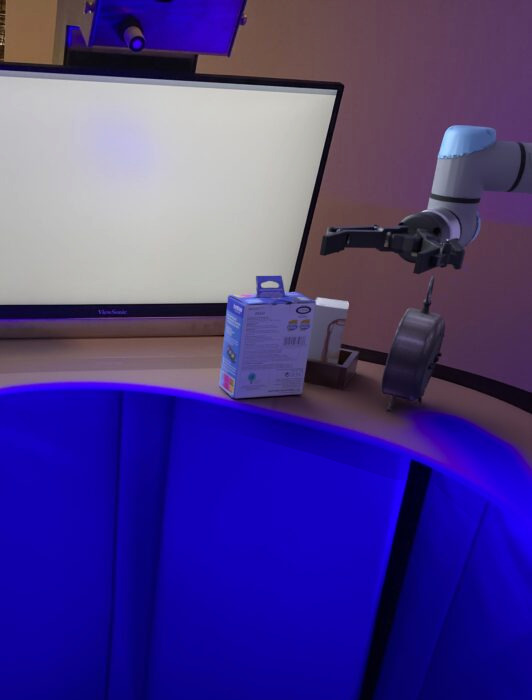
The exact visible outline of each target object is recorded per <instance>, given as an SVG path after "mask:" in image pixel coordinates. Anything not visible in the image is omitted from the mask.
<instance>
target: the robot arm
mask: <svg viewBox="0 0 532 700" xmlns="http://www.w3.org/2000/svg"><path fill="white" fill-rule="evenodd" d="M483 192H497V193H513V194H515V193H516V194H528V195H529V194H531V195H532V142H519V141H508V140H499V139H498V140H497V131H496V129H495V128H493V127H487V126H479V125H478V126H477V125H476V126H475V125H461V124H460V125H459V124H458V125H451V126H450V127H448V128H447V129H446V131H445V132H444V135H443V138H442V140H441V144H440V148H439V152H438V154H437V160H436V166H435V171H434V176H433V182H432V187H431V192H430V195H429V199H428V203H427V208H426V209H425V210H421V211H419V212H416V213H415V212H414V213H411V214H409V215H407V216H405V217H404V218H402V220H400V221H399V223H398V224H397V225H396V226H379V224H376V223H373V224H368V225H349V226H346V225H345V226H332V225H331V226H328V227H327V230H326V234H324V235H322V239H321V245H320V251H319V256H323V257H325V256H328V255H332V254H336V253H339V254H340V252H342V251H345V249H346V248H347V249H375V250H377V251H379V252H384V253H385V252H387V253H388V252H389V253H390V252H391V253H394V254H397V255H398V256H399V257H400V258H401V259H402V260H403V261H406V262H407V263H410V264H414V267H413V272H412V274H415V275H421V274H423V273H426V272H428V271H430V270H433V269H435V268H441V269H443V268H447V267H448V265H450V266H451V268H452V269H454V270H456V271H457V270H461V269H462V267H463V264H464V260H465V255H466V250H465V248H466V247H467V246H469V245H470V244H471V243H472V242H473V241H474V240H475V239H476V238H477V237H478V235H479V234H480V230H481V226H482V220H481V216H480V212H479V211H478V210H479V206H480V202H481V199H482V195H483Z"/></svg>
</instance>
